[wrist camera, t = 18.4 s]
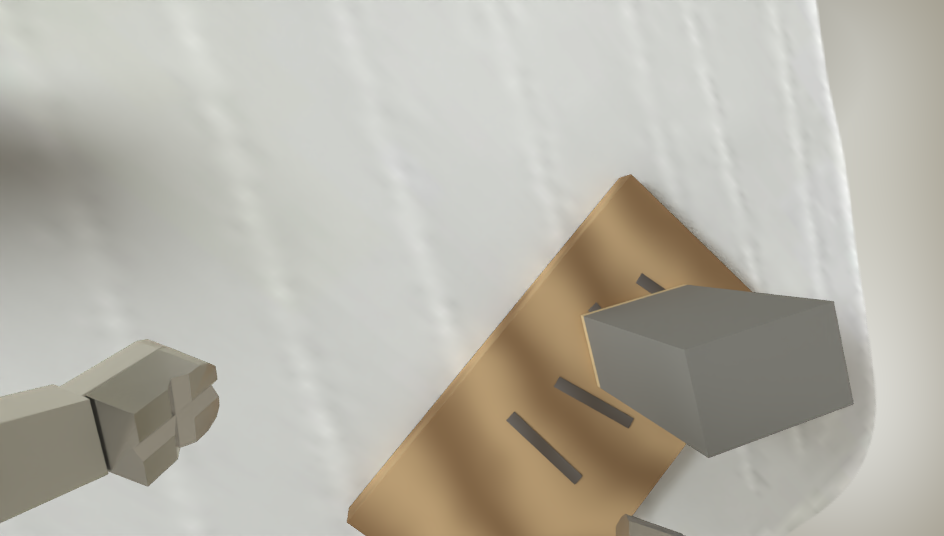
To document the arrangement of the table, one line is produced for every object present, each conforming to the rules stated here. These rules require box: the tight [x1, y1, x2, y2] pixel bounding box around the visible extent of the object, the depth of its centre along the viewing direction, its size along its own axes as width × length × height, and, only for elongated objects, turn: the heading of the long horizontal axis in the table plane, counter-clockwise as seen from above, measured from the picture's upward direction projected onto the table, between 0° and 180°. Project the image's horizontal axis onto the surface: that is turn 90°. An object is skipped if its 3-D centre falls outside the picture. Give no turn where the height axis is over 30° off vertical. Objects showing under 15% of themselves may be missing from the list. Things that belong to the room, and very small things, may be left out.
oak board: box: [347, 175, 752, 536], centre depth 29 cm, size 26×14×2 cm, turn 139°
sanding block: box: [581, 284, 854, 458], centre depth 24 cm, size 7×4×10 cm, turn 105°
